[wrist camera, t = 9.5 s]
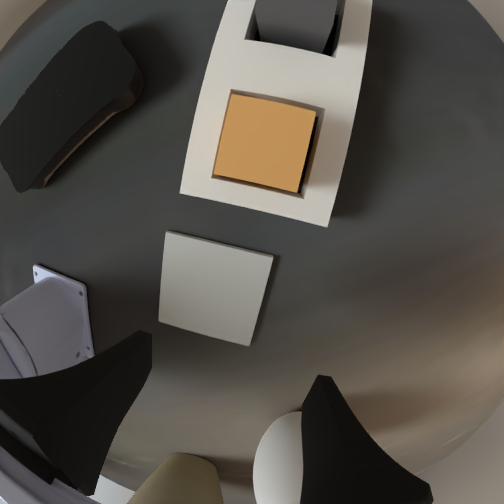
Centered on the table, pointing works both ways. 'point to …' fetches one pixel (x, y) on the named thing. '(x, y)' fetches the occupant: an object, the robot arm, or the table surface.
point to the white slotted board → (282, 91)
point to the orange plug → (264, 142)
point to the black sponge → (68, 104)
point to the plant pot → (181, 483)
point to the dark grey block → (296, 22)
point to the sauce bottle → (279, 462)
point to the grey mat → (212, 287)
